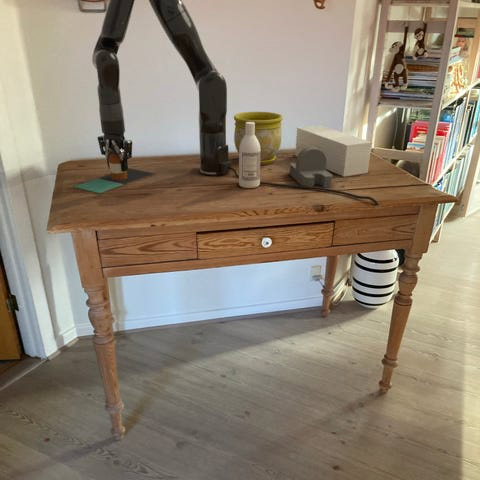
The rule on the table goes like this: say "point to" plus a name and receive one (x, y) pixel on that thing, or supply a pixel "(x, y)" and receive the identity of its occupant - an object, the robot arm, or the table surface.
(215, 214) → the table surface
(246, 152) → the bath foam
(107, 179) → the mat
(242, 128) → the flowerpot
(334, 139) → the white rectangular box
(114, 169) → the soap bottle
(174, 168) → the table surface
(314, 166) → the bracket
